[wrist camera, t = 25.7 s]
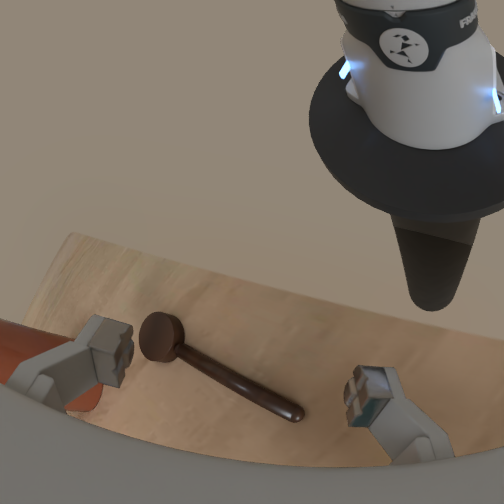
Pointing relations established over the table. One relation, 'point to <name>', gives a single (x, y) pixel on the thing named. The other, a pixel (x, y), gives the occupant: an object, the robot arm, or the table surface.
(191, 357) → the brown disc-ended rod
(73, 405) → the canister
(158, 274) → the table surface
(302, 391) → the table surface
